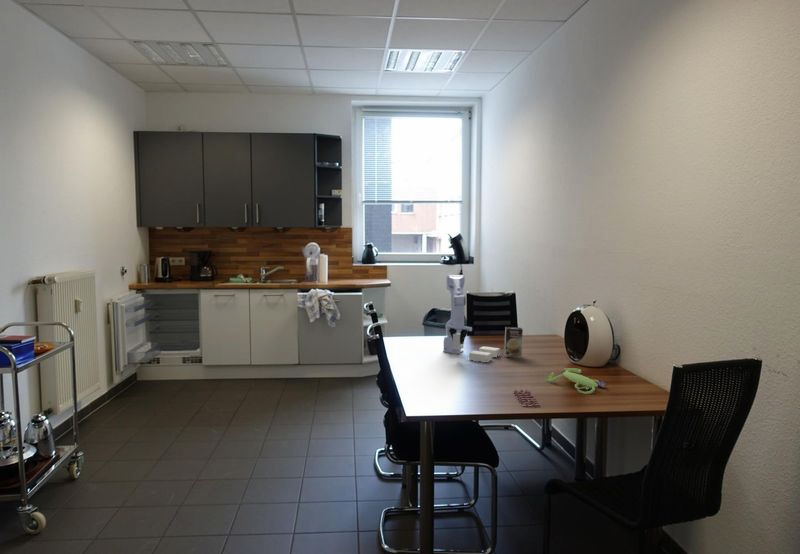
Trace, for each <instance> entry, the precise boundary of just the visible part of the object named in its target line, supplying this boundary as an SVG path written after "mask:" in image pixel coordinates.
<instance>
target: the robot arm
mask: <svg viewBox="0 0 800 554" xmlns="http://www.w3.org/2000/svg"><path fill="white" fill-rule="evenodd" d="M464 287H465V275H464V274H447V275H446V289H447V290H448V291H450V319H449V320H448V321H447V322H446V323H445V336H444V337H443V350H442V352H443V353H448V354H449V353H450V354H460V353H463V352H464V350H463V349H460V350H458V349H453V334H454V333H461V344H463V345H464V343H465V339H466V336H467V335H468V332H472V331H473V327H472V326H466V325H465V309H466V308H465V307H466V303H467V297H466V294H464Z"/></svg>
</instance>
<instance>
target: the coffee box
mask: <svg viewBox="0 0 800 554" xmlns="http://www.w3.org/2000/svg"><path fill="white" fill-rule="evenodd" d="M504 328H505V329H504V343H503V344H504V346H503V348H504V349H503V356H504V358H506V357H514V358H513V359H522V353H523V352H522V351H523V332H524V330H523V329H524V328H522V327H514V326H512V327H511V326H505V327H504Z"/></svg>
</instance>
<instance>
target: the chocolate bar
mask: <svg viewBox="0 0 800 554" xmlns="http://www.w3.org/2000/svg"><path fill="white" fill-rule="evenodd" d="M513 392H514V393H513ZM512 393H513V394H515V395H514V396H515V397H516V396H517V398H518V399H517V398H516V399H517V401H518V400H519V401H518V403H519V402H520V403H521V404H522V405H526V406H525V407H527V406H528V405H532V406H540V407H541V404H540V403H539V401H538V400H536V398H535V396H534V394H532V392H531V391H530V390H528V389H525V390H523V389H520V390H517V389H514V390H513V391H512ZM520 403H519V404H520ZM521 404H520V405H521Z"/></svg>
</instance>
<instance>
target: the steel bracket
mask: <svg viewBox="0 0 800 554" xmlns="http://www.w3.org/2000/svg"><path fill="white" fill-rule="evenodd" d="M453 349H458V350H460V349H461V350H463V349H464V344H461V333H454V334H453Z"/></svg>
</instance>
